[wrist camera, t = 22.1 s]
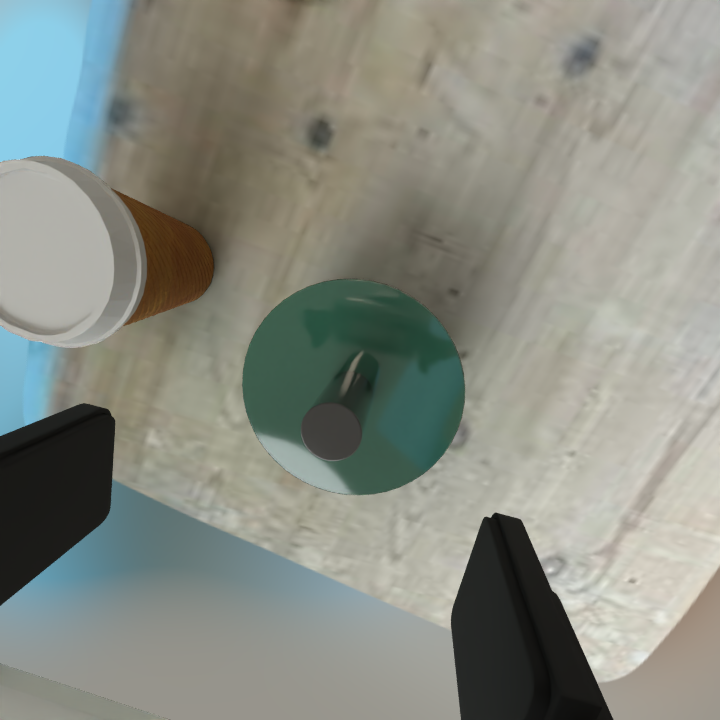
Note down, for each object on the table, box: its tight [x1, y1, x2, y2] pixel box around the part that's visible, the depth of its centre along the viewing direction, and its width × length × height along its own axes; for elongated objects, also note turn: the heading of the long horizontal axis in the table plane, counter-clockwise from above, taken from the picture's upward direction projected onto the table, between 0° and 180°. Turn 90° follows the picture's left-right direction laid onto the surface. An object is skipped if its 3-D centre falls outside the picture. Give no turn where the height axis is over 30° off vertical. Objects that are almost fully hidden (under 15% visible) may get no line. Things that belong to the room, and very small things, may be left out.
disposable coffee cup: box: [0, 156, 214, 347], centre depth 25 cm, size 10×10×12 cm
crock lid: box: [242, 279, 465, 495], centre depth 19 cm, size 12×12×7 cm
